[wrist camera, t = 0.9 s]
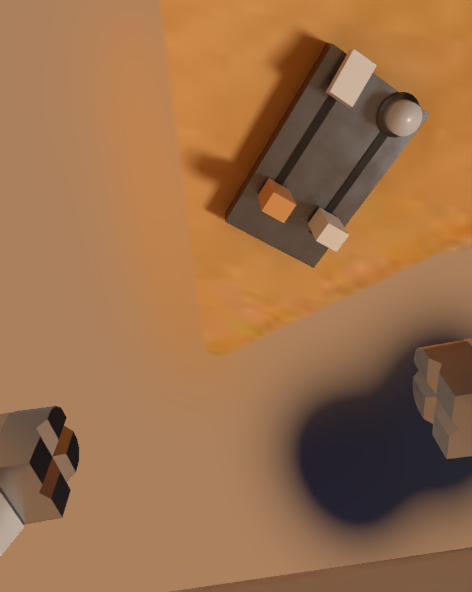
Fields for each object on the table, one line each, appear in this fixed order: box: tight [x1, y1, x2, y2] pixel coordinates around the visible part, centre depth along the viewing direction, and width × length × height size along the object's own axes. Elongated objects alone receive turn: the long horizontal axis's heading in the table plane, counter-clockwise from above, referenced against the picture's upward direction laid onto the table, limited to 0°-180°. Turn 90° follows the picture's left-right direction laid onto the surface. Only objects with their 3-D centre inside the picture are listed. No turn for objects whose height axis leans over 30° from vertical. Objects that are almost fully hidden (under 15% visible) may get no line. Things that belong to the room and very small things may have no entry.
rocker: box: [326, 49, 377, 108], centre depth 37 cm, size 4×2×1 cm, turn 150°
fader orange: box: [258, 178, 296, 223], centre depth 41 cm, size 2×2×4 cm
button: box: [383, 99, 422, 136], centre depth 39 cm, size 3×3×2 cm
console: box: [225, 43, 429, 268], centre depth 43 cm, size 18×11×3 cm, turn 150°
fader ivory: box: [308, 207, 349, 252], centre depth 43 cm, size 2×2×4 cm
